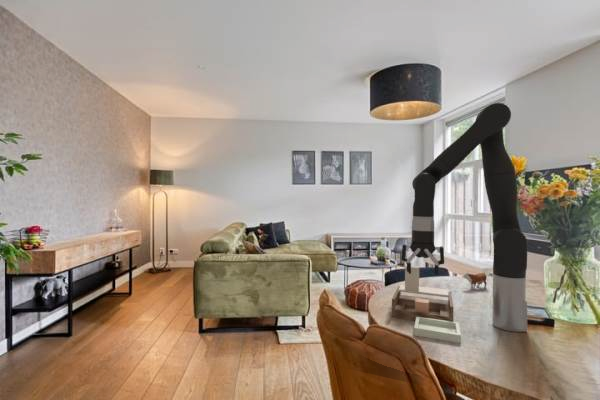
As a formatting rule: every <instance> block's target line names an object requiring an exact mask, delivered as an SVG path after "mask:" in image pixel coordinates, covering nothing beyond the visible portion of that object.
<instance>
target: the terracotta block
mask: <svg viewBox="0 0 600 400" xmlns="http://www.w3.org/2000/svg"><path fill="white" fill-rule="evenodd" d="M415 312H421V313H428V314H429V300H427V299H419V298H416V299H415Z"/></svg>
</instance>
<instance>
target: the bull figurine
mask: <svg viewBox="0 0 600 400" xmlns="http://www.w3.org/2000/svg"><path fill="white" fill-rule="evenodd" d="M462 278H463V279H466V280H467V281H468V282H469V284H470V289H472V290H473V291H475V290H476V288H479V287H480V285H482V284H483V285H484V286H483V289H487V278H488V277H487V274H486V273H484V272H481V273H473V272H468V271H467V272H465V273H463V276H462ZM476 284H477V285H476Z"/></svg>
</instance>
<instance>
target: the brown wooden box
mask: <svg viewBox="0 0 600 400" xmlns="http://www.w3.org/2000/svg"><path fill="white" fill-rule="evenodd" d="M400 286H401V285H398V286H397V288H396V290H395V292H394V294H393V295H392V298H391V318H395V319H400V320H407V321H416V316H417V317H424V318H430V319H437V320H444V321H451V322H454V302H453V295H452V292H451V291H448V294H449V297H447V298H448V299H447V300H446V299H439V298H438V299H437V298H431V297H430V298H429V297H423V296H422V297H421V296H416V295H408V294H407V295H404V294H401V293H402V292H399V288H400ZM416 298H419V299H427V300H429V314H428V313H421V312H415V299H416Z"/></svg>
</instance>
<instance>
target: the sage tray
mask: <svg viewBox="0 0 600 400" xmlns="http://www.w3.org/2000/svg"><path fill="white" fill-rule="evenodd" d="M413 327H414V328H413V330H414V331H413V336H416V337H421V338H429V339H434V340H439V341H440V340H441V341H447V342H450V343H451V342H453V343H458V344H462V335H461V334H462V333H461V327H460V323H459V322H457V321H453V322H451V321H444V320H437V319H430V318H424V317H417V316H416V321H415V322H414V326H413Z"/></svg>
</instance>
